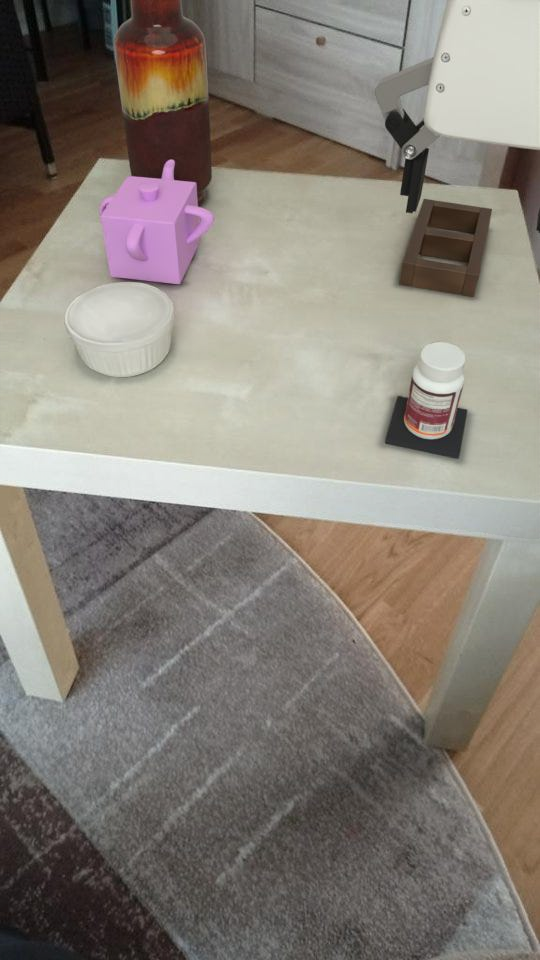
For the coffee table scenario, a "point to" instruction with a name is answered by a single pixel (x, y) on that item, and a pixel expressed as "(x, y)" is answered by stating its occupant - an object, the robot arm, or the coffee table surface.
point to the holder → (446, 247)
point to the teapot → (153, 227)
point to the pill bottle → (435, 390)
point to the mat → (405, 438)
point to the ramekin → (121, 327)
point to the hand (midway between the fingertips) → (476, 214)
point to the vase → (164, 93)
